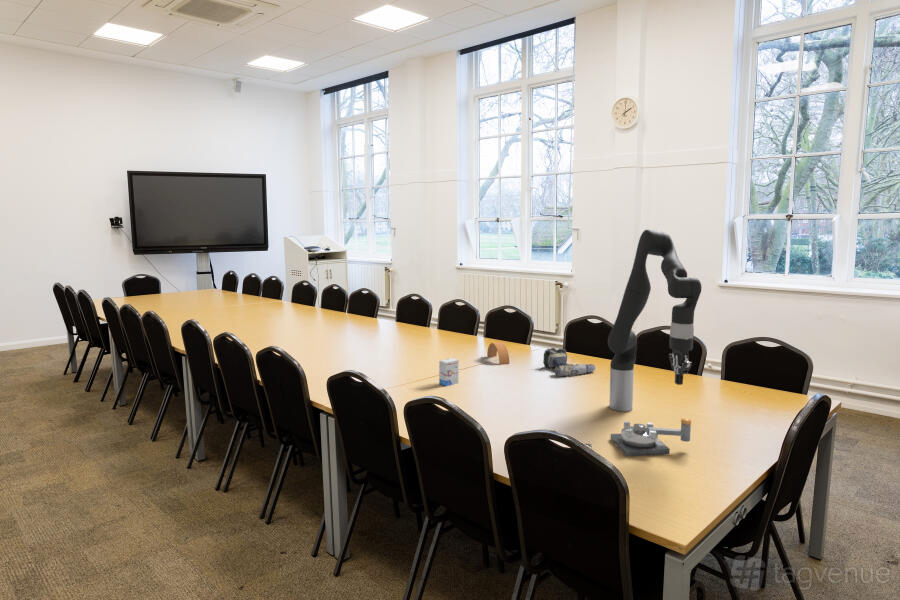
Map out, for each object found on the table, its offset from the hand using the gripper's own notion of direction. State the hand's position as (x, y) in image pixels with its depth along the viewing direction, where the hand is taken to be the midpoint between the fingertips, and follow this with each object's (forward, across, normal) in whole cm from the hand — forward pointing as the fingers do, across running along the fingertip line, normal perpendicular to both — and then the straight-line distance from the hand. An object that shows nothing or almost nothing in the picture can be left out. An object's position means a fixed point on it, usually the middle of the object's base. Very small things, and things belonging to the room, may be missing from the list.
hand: (678, 384), depth 201 cm
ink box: (+24, -83, -73) cm, 113 cm away
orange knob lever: (+19, +4, -9) cm, 21 cm away
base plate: (+21, +2, -14) cm, 26 cm away
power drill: (+23, -97, -12) cm, 101 cm away
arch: (+24, -125, -42) cm, 134 cm away
